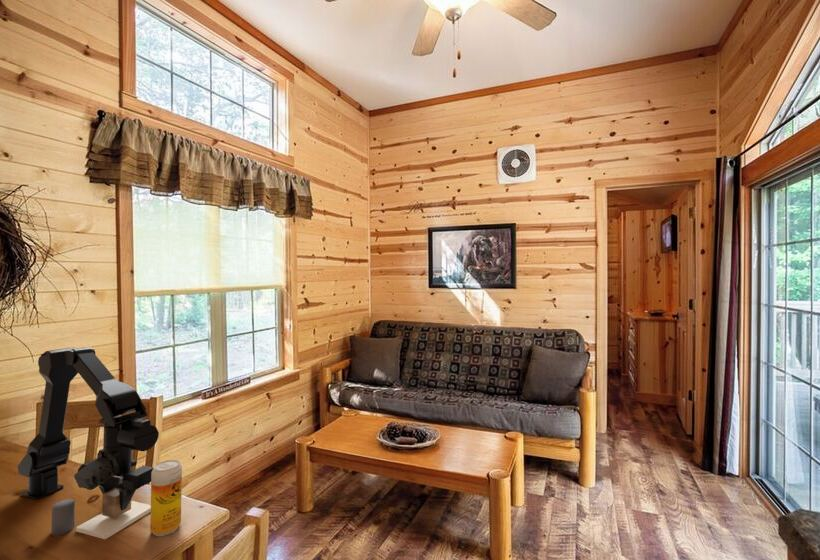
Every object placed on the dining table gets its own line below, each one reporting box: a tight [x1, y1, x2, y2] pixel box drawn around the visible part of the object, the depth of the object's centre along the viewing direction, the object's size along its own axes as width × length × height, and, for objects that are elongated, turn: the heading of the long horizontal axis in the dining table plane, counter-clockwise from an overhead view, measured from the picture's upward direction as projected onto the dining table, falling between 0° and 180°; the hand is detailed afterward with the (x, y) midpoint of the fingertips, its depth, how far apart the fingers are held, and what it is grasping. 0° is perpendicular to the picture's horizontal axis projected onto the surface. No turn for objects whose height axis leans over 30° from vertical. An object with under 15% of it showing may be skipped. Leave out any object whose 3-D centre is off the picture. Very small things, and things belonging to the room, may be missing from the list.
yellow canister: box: [149, 459, 183, 537], centre depth 92 cm, size 6×6×15 cm
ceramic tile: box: [75, 500, 151, 540], centre depth 95 cm, size 9×12×1 cm
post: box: [50, 498, 76, 536], centre depth 91 cm, size 4×4×6 cm
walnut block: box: [101, 488, 132, 518], centre depth 95 cm, size 4×4×5 cm
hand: (116, 507), depth 95 cm, fingers closed on walnut block, 4 cm apart
